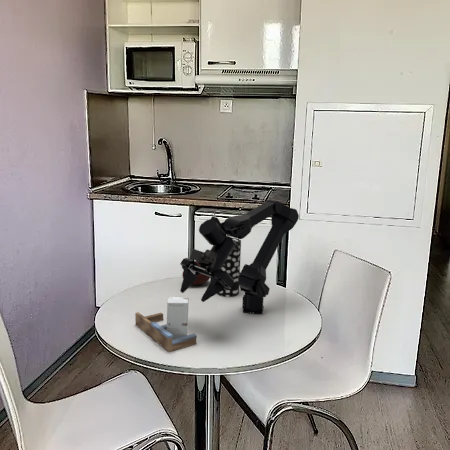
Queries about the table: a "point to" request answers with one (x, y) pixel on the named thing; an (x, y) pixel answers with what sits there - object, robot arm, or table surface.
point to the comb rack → (162, 332)
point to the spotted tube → (232, 271)
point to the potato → (199, 278)
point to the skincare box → (177, 316)
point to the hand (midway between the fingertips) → (191, 296)
